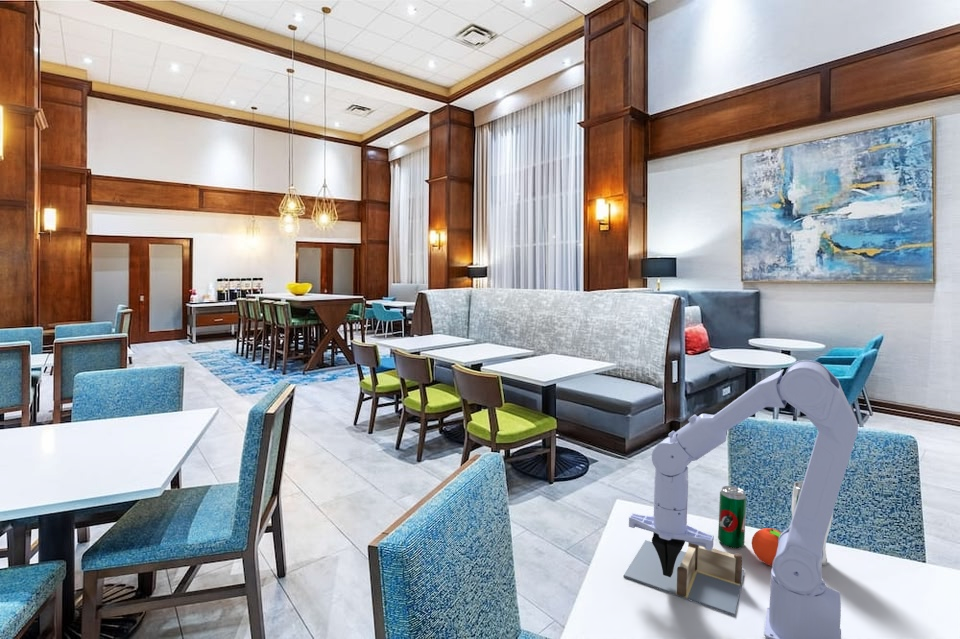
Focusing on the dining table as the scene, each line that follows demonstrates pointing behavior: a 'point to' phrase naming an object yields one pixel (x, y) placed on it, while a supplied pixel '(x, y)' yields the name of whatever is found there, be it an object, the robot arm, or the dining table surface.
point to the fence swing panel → (685, 571)
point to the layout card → (700, 587)
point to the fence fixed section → (718, 563)
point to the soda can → (732, 517)
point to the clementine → (766, 544)
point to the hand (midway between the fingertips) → (668, 573)
